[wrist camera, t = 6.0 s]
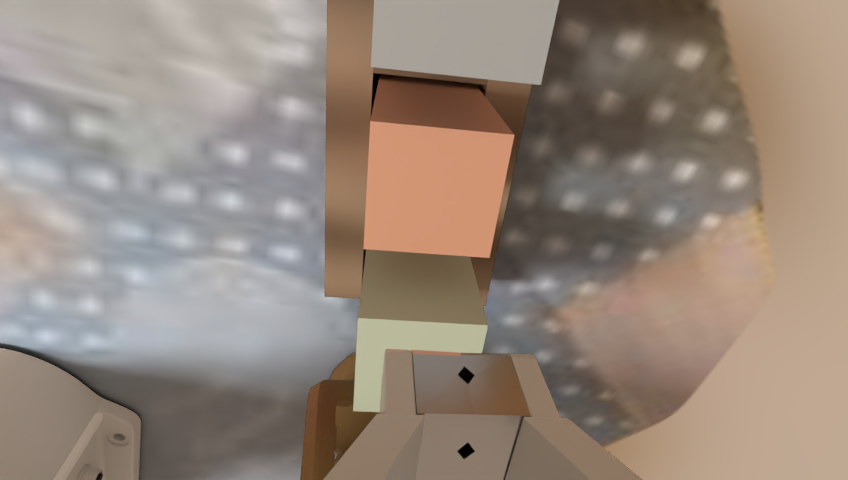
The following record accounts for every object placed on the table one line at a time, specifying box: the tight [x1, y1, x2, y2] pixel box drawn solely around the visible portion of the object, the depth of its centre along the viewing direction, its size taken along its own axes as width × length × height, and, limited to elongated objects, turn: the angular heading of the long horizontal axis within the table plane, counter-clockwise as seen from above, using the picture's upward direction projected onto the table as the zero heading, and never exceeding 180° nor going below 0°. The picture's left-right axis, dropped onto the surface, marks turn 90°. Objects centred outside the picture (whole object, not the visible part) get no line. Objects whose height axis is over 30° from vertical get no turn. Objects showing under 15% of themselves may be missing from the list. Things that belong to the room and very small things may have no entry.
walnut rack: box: [325, 0, 532, 306], centre depth 25 cm, size 21×10×3 cm, turn 174°
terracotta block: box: [363, 74, 514, 258], centre depth 22 cm, size 5×5×10 cm
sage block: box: [353, 249, 488, 412], centre depth 23 cm, size 5×5×10 cm
